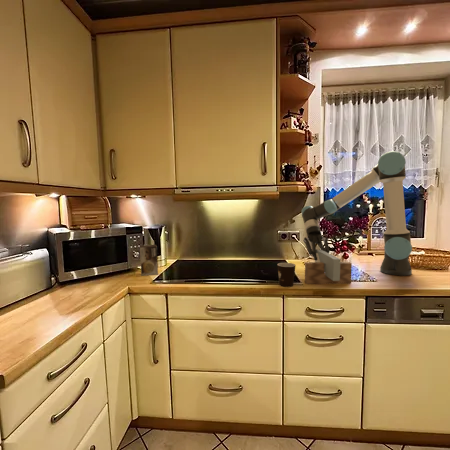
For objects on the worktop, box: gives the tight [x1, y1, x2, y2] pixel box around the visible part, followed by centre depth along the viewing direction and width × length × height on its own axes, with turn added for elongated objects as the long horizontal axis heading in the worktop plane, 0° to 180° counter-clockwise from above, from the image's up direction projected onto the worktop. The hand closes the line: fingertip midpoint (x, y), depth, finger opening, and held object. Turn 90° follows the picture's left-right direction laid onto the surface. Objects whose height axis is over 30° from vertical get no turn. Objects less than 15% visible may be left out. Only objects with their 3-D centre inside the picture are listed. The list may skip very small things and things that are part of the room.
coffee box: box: [139, 244, 159, 277], centre depth 162 cm, size 9×6×16 cm
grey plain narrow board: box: [314, 249, 341, 281], centre depth 143 cm, size 24×3×10 cm, turn 2°
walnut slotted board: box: [304, 261, 353, 285], centre depth 143 cm, size 22×3×10 cm, turn 92°
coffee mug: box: [277, 262, 296, 288], centre depth 141 cm, size 12×9×10 cm
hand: (322, 265), depth 148 cm, fingers closed on grey plain narrow board, 3 cm apart
